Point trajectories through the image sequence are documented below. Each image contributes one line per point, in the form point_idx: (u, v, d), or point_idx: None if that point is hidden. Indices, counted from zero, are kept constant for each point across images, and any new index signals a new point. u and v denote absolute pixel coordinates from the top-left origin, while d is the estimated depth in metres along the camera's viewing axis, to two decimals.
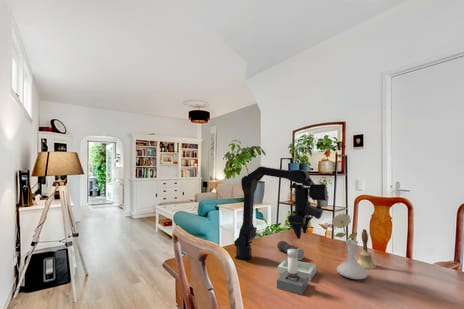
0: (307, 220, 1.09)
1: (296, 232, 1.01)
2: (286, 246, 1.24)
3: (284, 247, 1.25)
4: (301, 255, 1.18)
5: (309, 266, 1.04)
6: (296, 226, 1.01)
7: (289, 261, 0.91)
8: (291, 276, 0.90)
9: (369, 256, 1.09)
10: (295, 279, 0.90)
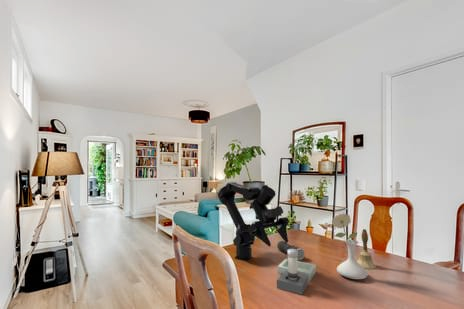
0: (282, 228, 1.04)
1: (264, 241, 0.97)
2: (286, 246, 1.24)
3: (284, 247, 1.25)
4: (301, 255, 1.18)
5: (309, 266, 1.04)
6: (261, 235, 0.99)
7: (289, 261, 0.91)
8: (291, 276, 0.90)
9: (369, 256, 1.09)
10: (295, 279, 0.90)
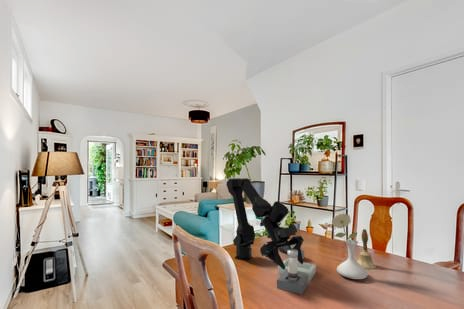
0: (296, 248, 0.97)
1: (278, 263, 0.90)
2: None
3: (284, 247, 1.24)
4: None
5: (309, 266, 1.04)
6: (274, 257, 0.92)
7: (289, 261, 0.91)
8: (291, 276, 0.90)
9: (369, 256, 1.09)
10: (295, 279, 0.90)
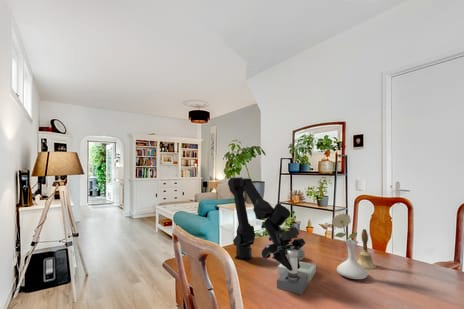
0: None
1: (285, 265, 0.91)
2: None
3: None
4: (301, 255, 1.18)
5: (309, 266, 1.04)
6: (281, 258, 0.92)
7: (289, 261, 0.91)
8: (291, 276, 0.90)
9: (369, 256, 1.09)
10: (295, 279, 0.90)
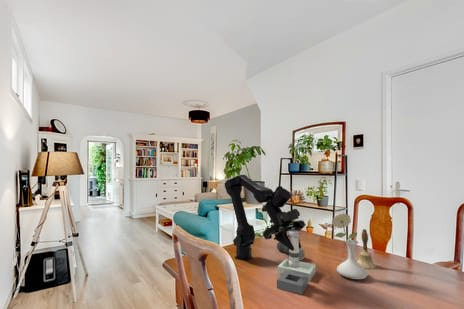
0: None
1: (286, 245, 0.92)
2: None
3: (284, 247, 1.24)
4: (302, 255, 1.18)
5: (309, 266, 1.04)
6: (282, 239, 0.94)
7: (290, 241, 0.92)
8: (292, 256, 0.91)
9: (369, 256, 1.09)
10: (296, 259, 0.91)
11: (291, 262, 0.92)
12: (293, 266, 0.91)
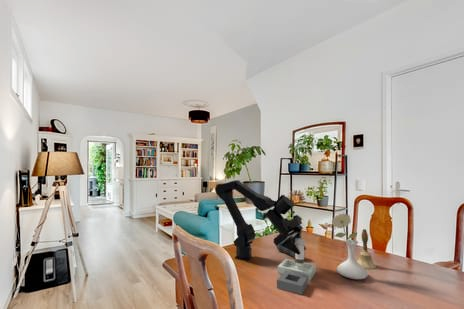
0: (298, 236, 1.07)
1: (293, 250, 1.00)
2: None
3: (284, 247, 1.24)
4: None
5: (309, 266, 1.04)
6: (288, 244, 1.01)
7: (298, 249, 1.01)
8: (300, 262, 1.00)
9: (369, 256, 1.09)
10: (303, 264, 1.01)
11: (298, 267, 1.01)
12: None
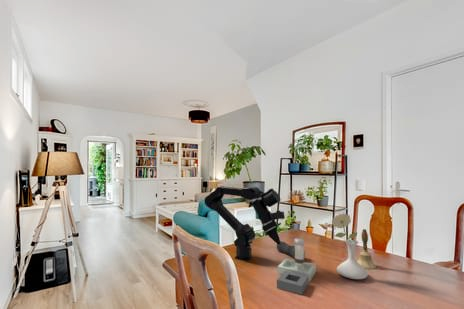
0: None
1: (275, 239, 1.05)
2: (286, 246, 1.23)
3: (284, 248, 1.24)
4: None
5: (309, 266, 1.04)
6: (272, 233, 1.06)
7: (297, 249, 1.01)
8: (299, 262, 1.01)
9: (369, 256, 1.09)
10: (302, 264, 1.01)
11: (298, 267, 1.01)
12: None
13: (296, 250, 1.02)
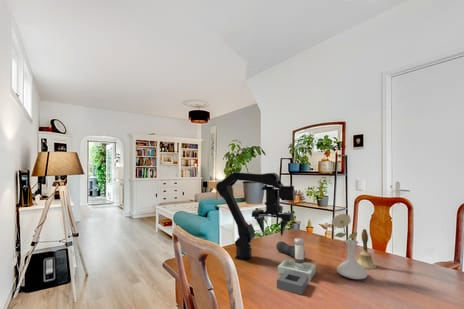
0: (263, 219, 1.18)
1: (283, 230, 1.11)
2: (286, 247, 1.23)
3: (284, 248, 1.24)
4: None
5: (309, 266, 1.04)
6: (283, 224, 1.11)
7: (297, 249, 1.01)
8: (299, 262, 1.01)
9: (369, 256, 1.09)
10: (302, 264, 1.01)
11: (298, 267, 1.01)
12: None
13: (296, 250, 1.02)
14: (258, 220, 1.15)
